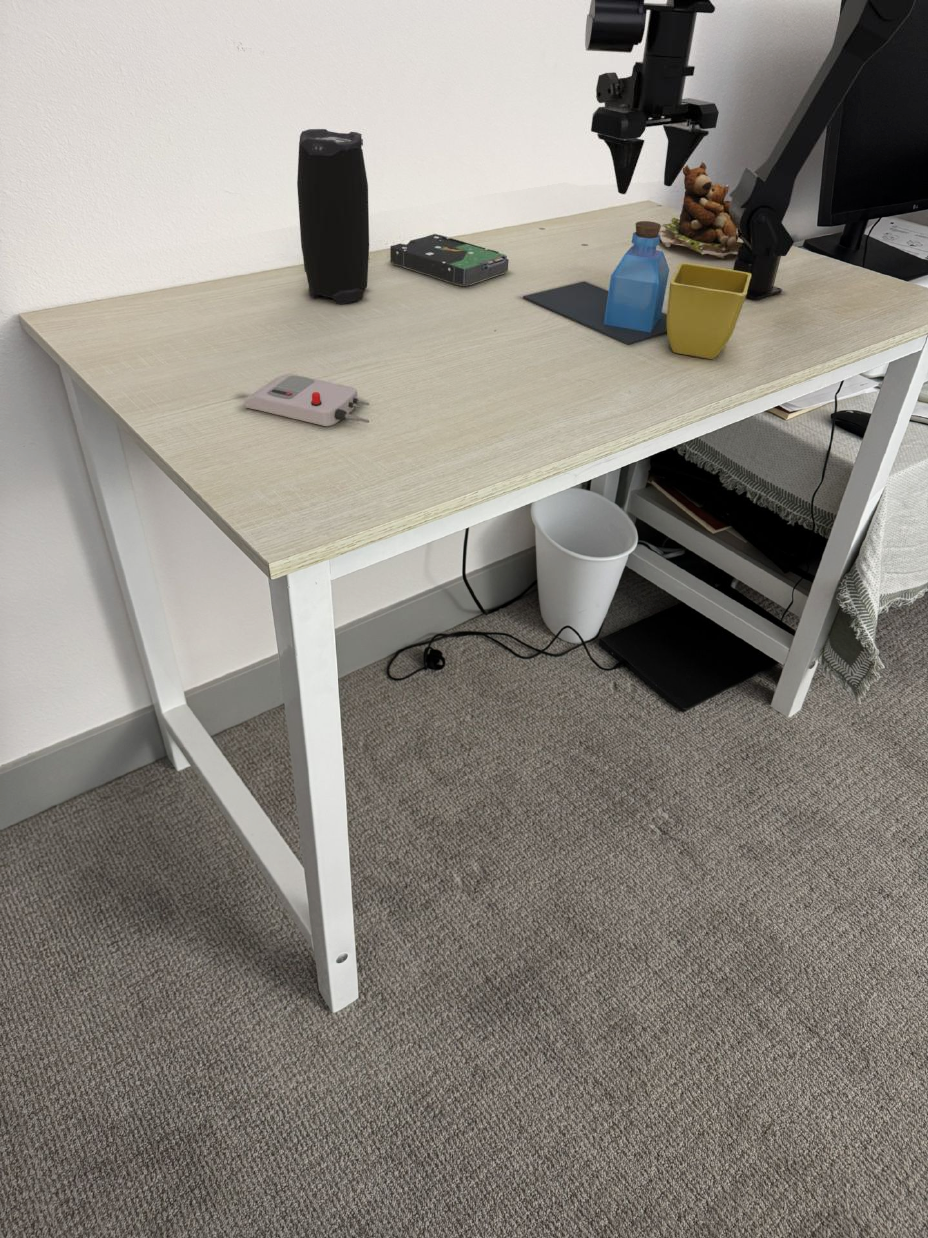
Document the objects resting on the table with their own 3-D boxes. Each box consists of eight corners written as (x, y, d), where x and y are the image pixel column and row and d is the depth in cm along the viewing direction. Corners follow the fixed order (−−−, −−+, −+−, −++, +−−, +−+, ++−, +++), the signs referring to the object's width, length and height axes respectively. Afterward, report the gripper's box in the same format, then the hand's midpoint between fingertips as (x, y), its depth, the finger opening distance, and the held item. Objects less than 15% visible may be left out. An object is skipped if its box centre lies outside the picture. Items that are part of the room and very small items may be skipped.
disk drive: (388, 265, 131) (465, 288, 124) (388, 246, 129) (465, 268, 122) (434, 251, 137) (509, 272, 130) (434, 232, 136) (510, 252, 128)
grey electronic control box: (264, 381, 97) (261, 355, 95) (391, 410, 93) (391, 383, 91) (230, 404, 92) (226, 377, 91) (362, 436, 88) (361, 408, 86)
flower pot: (735, 343, 112) (752, 271, 106) (728, 369, 105) (746, 293, 100) (666, 332, 114) (680, 261, 108) (655, 357, 107) (669, 282, 102)
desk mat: (584, 283, 128) (584, 281, 128) (690, 325, 116) (690, 323, 116) (522, 298, 122) (522, 295, 122) (628, 344, 110) (628, 342, 110)
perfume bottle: (603, 323, 115) (617, 226, 107) (615, 309, 119) (629, 215, 112) (650, 332, 113) (667, 234, 105) (660, 317, 117) (678, 222, 110)
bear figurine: (692, 264, 137) (709, 179, 130) (643, 237, 148) (656, 157, 140) (764, 258, 141) (784, 175, 134) (711, 232, 152) (727, 154, 144)
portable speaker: (379, 288, 123) (376, 130, 110) (353, 310, 116) (348, 144, 103) (322, 279, 124) (313, 123, 112) (294, 300, 117) (281, 136, 105)
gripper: (667, 44, 119) (647, 169, 129) (568, 49, 110) (555, 184, 120) (732, 54, 113) (706, 186, 123) (633, 60, 103) (614, 203, 113)
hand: (645, 189), depth 120 cm, fingers open, 9 cm apart
